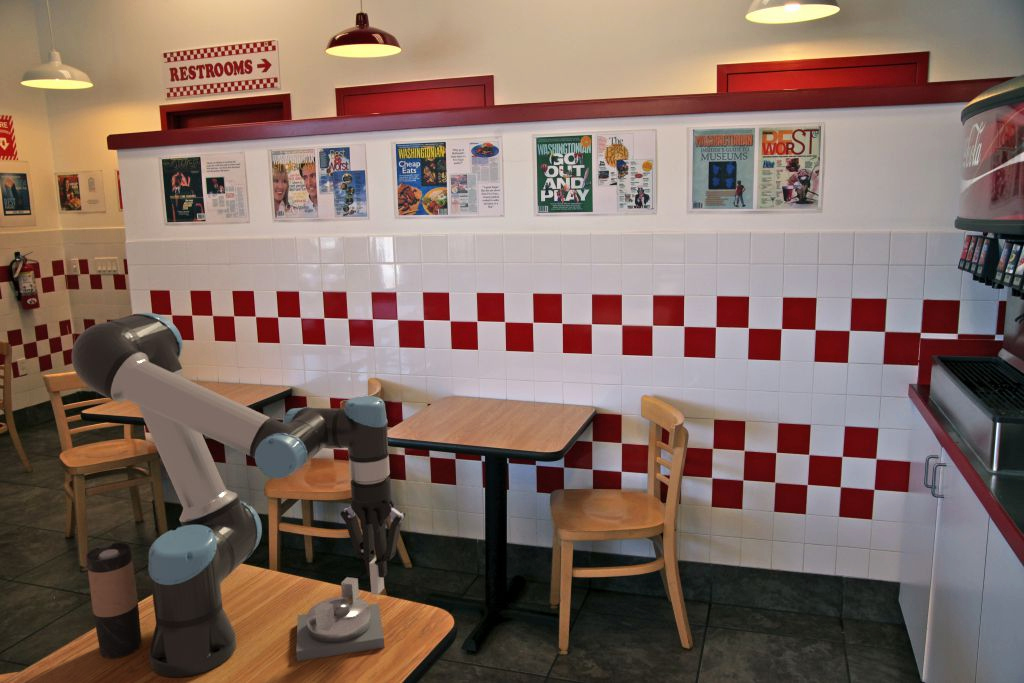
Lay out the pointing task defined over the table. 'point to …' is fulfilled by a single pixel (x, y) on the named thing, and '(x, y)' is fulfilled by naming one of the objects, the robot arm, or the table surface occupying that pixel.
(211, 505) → the robot arm
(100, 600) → the travel mug
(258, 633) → the table surface
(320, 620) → the silver metal dome
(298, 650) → the gray square base plate
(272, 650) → the table surface
